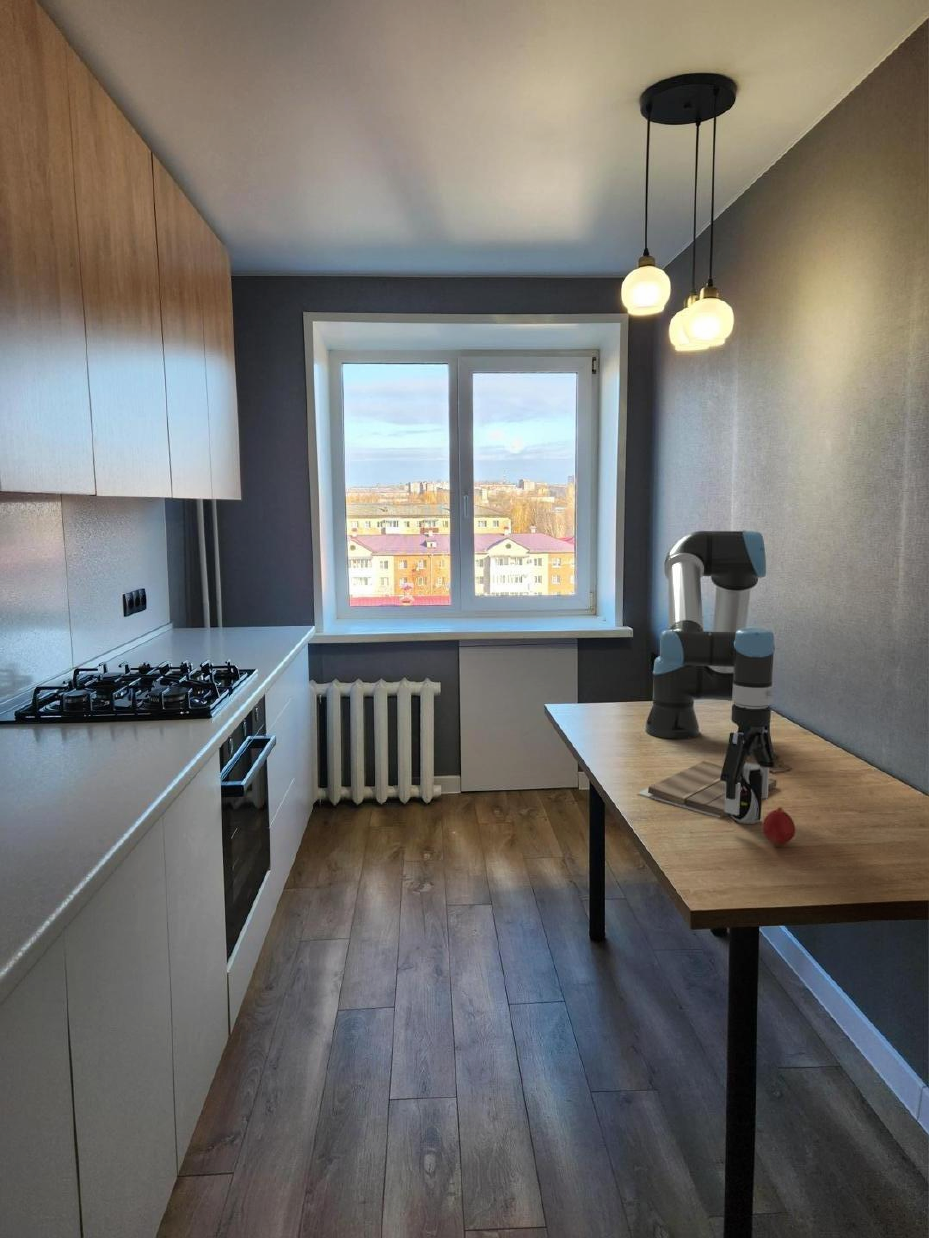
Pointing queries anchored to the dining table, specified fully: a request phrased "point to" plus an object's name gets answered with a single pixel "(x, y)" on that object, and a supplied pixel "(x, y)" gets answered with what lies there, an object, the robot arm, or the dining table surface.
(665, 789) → the plank
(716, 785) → the laid board
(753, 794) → the beverage can
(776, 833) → the pomegranate
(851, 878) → the dining table surface
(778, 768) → the wooden fragment
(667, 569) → the robot arm
